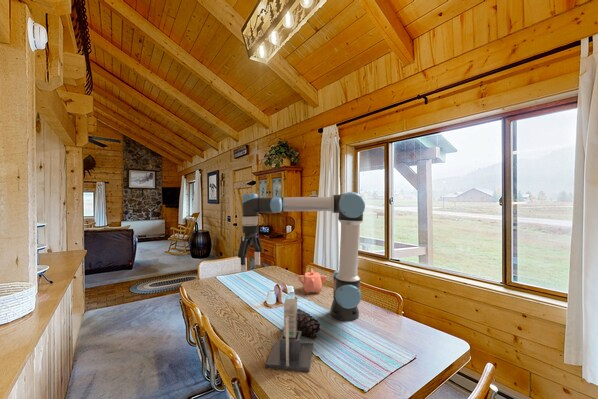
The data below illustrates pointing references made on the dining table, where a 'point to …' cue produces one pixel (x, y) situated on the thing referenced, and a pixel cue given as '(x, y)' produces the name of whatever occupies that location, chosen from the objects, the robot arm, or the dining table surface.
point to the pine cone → (307, 325)
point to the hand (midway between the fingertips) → (250, 268)
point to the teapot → (312, 282)
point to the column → (291, 317)
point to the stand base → (290, 353)
